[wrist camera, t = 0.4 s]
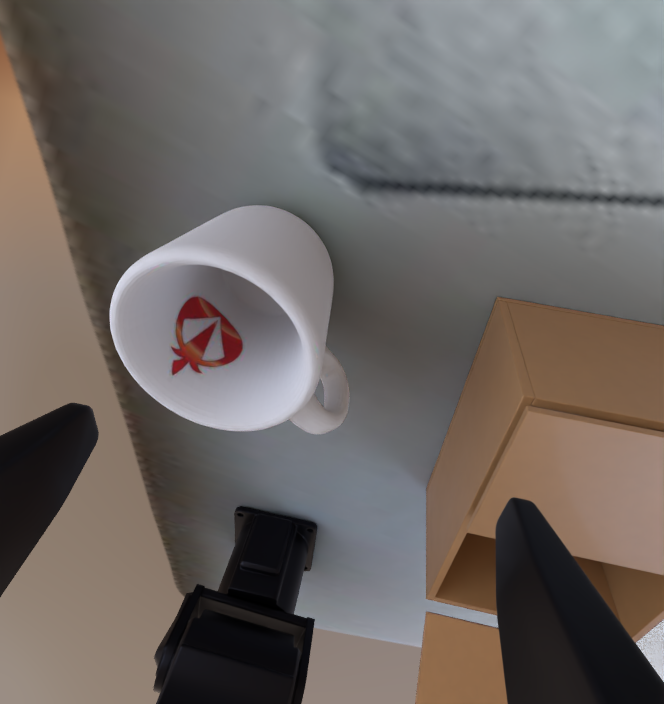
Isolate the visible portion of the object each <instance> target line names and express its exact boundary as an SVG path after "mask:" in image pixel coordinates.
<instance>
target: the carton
mask: <svg viewBox="0 0 664 704" xmlns="http://www.w3.org/2000/svg"><path fill="white" fill-rule="evenodd" d="M512 497H516V498H521V499H525V500H529V501H532V502H533V503H534V504H535V505H536V506H537V508H538V509H539V510H540V512H541V513H542V514H543V516H544V517H545V519H546V520H547V521H548V523H549V524H550V526H551V527H552V528H553V530H554V531H555V532H556V534H557V535H558V537H559V538H560V539H561V541H562V542H563V544H564V545H565V546H566V548H567V549H568V550H569V552H570V553H571V555H572V556H573V557H574V559H575V560H576V562H577V563H578V564H579V566H580V567H581V568H582V570H583V571H584V573H585V574H586V575H587V577H588V578H589V580H590V581H591V582H592V584H593V585H594V586H595V588H596V589H597V591H598V592H599V593H600V595H601V596H602V598H603V599H604V600H605V602H606V603H607V604H608V606H609V607H610V609H611V610H612V611H613V613H614V614H615V616H616V617H617V618H618V620H619V621H620V622H621V624H622V625H623V627H624V628H625V629H626V631H627V632H628V634H629V635H630V636H631V638H632V639H633V640H634V642H635V643H636V642H637V641H638V640H640V639H641V638H642V637H643V636H644V635H645V634H647V633H648V632H649V631H650V630H651V629H653V628H654V627H655V626H656V625H657V624H659V623H660V622H661V621H662V620H663V619H664V326H662V325H656V324H650V323H645V322H639V321H633V320H628V319H622V318H616V317H610V316H605V315H599V314H593V313H588V312H582V311H576V310H571V309H565V308H559V307H554V306H548V305H542V304H537V303H531V302H525V301H519V300H514V299H508V298H502V297H497V299H496V301H495V304H494V307H493V309H492V312H491V315H490V317H489V320H488V323H487V326H486V328H485V331H484V334H483V336H482V339H481V342H480V345H479V347H478V350H477V353H476V355H475V358H474V361H473V364H472V366H471V369H470V372H469V374H468V377H467V380H466V383H465V385H464V388H463V391H462V393H461V396H460V399H459V402H458V404H457V407H456V410H455V412H454V415H453V418H452V421H451V423H450V426H449V429H448V431H447V434H446V437H445V440H444V442H443V445H442V448H441V450H440V453H439V456H438V458H437V461H436V464H435V467H434V469H433V472H432V475H431V477H430V480H429V483H428V486H427V488H426V599H428V600H434V601H437V602H441V603H445V604H450V605H454V606H458V607H463V608H467V609H471V610H476V611H480V612H485V613H489V614H493V615H497V608H496V538H495V531H496V524H497V521H498V518H499V517H500V515H501V513H502V511H503V510H504V508H505V506H506V504H507V502H508V501H509V499H511V498H512Z"/></svg>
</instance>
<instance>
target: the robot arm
mask: <svg viewBox="0 0 664 704" xmlns="http://www.w3.org/2000/svg"><path fill="white" fill-rule="evenodd" d="M97 440H98V428H97V425H96V421H95V417H94V413H93V410H92V409H91V407H89V406H87V405H82V404H77V403H69V404H67V405H64V406H62V407H60V408H58V409H56V410H54V411H52V412H50V413H48V414H45V415H43V416H41V417H39V418H37V419H35V420H33V421H31V422H29V423H26V424H24V425H22V426H20V427H18V428H16V429H14V430H12V431H9V432H7V433H5V434H3V435H1V436H0V597H1V595H2V594H3V592H4V591H5V589H6V588H7V586H8V585H9V583H10V582H11V581H12V579H13V578H14V576H15V575H16V573H17V572H18V570H19V569H20V567H21V566H22V564H23V563H24V561H25V560H26V558H27V557H28V555H29V554H30V553H31V551H32V550H33V548H34V547H35V545H36V544H37V542H38V541H39V539H40V538H41V536H42V535H43V534H44V532H45V531H46V529H47V527H48V526H49V525H50V523H51V522H52V520H53V519H54V517H55V516H56V514H57V513H58V511H59V510H60V508H61V507H62V505H63V503H64V502H65V500H66V498H67V496H68V495H69V493H70V491H71V489H72V487H73V485H74V483H75V482H76V480H77V478H78V476H79V474H80V473H81V471H82V469H83V467H84V465H85V463H86V461H87V459H88V458H89V456H90V454H91V452H92V450H93V449H94V447H95V445H96V443H97ZM316 533H317V525H316V524H315V523H313V522H309V521H304V520H300V519H295V518H291V517H286V516H282V515H277V514H273V513H268V512H264V511H259V510H255V509H250V508H246V507H237V508H236V511H235V542H236V544H235V547H234V550H233V552H232V555H231V558H230V560H229V563H228V566H227V568H226V571H225V573H224V576H223V579H222V581H221V584H220V587H219V589H218V591H214V590H211V589H208V588H204V587H205V586H203V585H199V584H197V585H196V587H195V590H194V592H191V593H187V594H186V596H185V598H184V600H183V603H182V605H181V608H180V610H179V612H178V614H177V616H176V618H175V620H174V622H173V623H172V625H171V627H170V628H169V630H168V632H167V633H166V635H165V637H164V638H163V640H162V642H161V643H160V645H159V647H158V649H157V651H156V654H155V657H154V659H155V662H156V665H157V671H156V680H155V684H154V691H155V692H158V693H160V695H159V698H158V701H157V703H156V704H301V702H302V698H303V694H304V689H305V683H306V677H307V671H308V664H309V656H310V649H311V642H312V635H313V628H314V621H315V619H312V618H309V617H307V618H304V617H301V616H297V615H294V611H295V607H296V602H297V598H298V594H299V589H300V585H301V581H302V576H303V572H304V571H310V570H311V566H312V559H313V553H314V546H315V540H316ZM495 538H496V608H497V619H498V627H499V636H500V644H501V653H502V661H503V670H504V678H505V686H506V695H507V703H508V704H664V682H663V681H662V679H661V678H660V677H659V675H658V674H657V672H656V671H655V670H654V668H653V667H652V665H651V664H650V663H649V661H648V660H647V659H646V657H645V656H644V654H643V653H642V652H641V650H640V649H639V647H638V646H637V645H636V643H635V642H634V640H633V639H632V638H631V636H630V635H629V634H628V632H627V631H626V629H625V628H624V627H623V625H622V624H621V622H620V621H619V620H618V618H617V617H616V616H615V614H614V613H613V611H612V610H611V609H610V607H609V606H608V604H607V603H606V602H605V600H604V599H603V598H602V596H601V595H600V593H599V592H598V591H597V589H596V588H595V586H594V585H593V584H592V582H591V581H590V580H589V578H588V577H587V575H586V574H585V573H584V571H583V570H582V568H581V567H580V566H579V564H578V563H577V562H576V560H575V559H574V557H573V556H572V555H571V553H570V552H569V550H568V549H567V548H566V546H565V545H564V544H563V542H562V541H561V539H560V538H559V537H558V535H557V534H556V532H555V531H554V530H553V528H552V527H551V526H550V524H549V523H548V521H547V520H546V519H545V517H544V516H543V514H542V513H541V512H540V510H539V509H538V508H537V506H536V505H535V504H534V503H533V502H532V501H529V500H525V499H521V498H516V497H512V498H511V499H509V501H508V502H507V504H506V506H505V508H504V510H503V511H502V513H501V515H500V517H499V518H498V521H497V524H496V531H495Z"/></svg>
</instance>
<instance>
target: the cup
mask: <svg viewBox="0 0 664 704" xmlns="http://www.w3.org/2000/svg"><path fill="white" fill-rule="evenodd" d="M333 288H334V276H333V268H332V263H331V260H330V257H329V254H328V251H327V249H326V247H325V245H324V244H323V242H322V240H321V239H320V238H319V236H318V235H317V233H316V232H315V231H314V230H313V229H312V228H311V227H310V226H309V225H308V224H307V223H305V222H304V221H303V220H302V219H300V218H298V217H297V216H295V215H293V214H292V213H290V212H287V211H285V210H282V209H279V208H276V207H271V206H264V205H251V206H244V207H240V208H236V209H233V210H230V211H228V212H225V213H223V214H221V215H219V216H217V217H215V218H213V219H212V220H210V221H208V222H206V223H204V224H202V225H201V226H199V227H197V228H195V229H193V230H191V231H189V232H188V233H186V234H184V235H182V236H180V237H178V238H177V239H175V240H173V241H171V242H169V243H167V244H165V245H164V246H162V247H160V248H158V249H156V250H154V251H152V252H151V253H149V254H147V255H145V256H144V257H142V258H141V259H139V260H138V261H137V262H136V263H134V264H133V265H132V266H131V267H130V268H129V269H128V270H127V271H126V272H125V274H124V275H123V276H122V278H121V279H120V281H119V282H118V284H117V286H116V288H115V291H114V294H113V297H112V300H111V306H110V328H111V333H112V337H113V340H114V344H115V347H116V349H117V351H118V353H119V355H120V357H121V359H122V361H123V363H124V365H125V367H126V368H127V370H128V371H129V372H130V374H131V375H132V377H133V378H134V379H135V380H136V381H137V383H138V384H139V385H140V386H141V387H142V388H143V389H144V390H145V391H146V392H147V393H148V394H149V395H151V396H152V397H153V398H154V399H155V400H157V401H158V402H159V403H161V404H162V405H164V406H165V407H166V408H168V409H169V410H171V411H173V412H175V413H176V414H178V415H180V416H182V417H184V418H186V419H188V420H191V421H193V422H195V423H198V424H201V425H204V426H208V427H211V428H215V429H221V430H228V431H255V430H262V429H266V428H270V427H273V426H276V425H278V424H281V423H283V422H285V421H287V420H288V419H289V420H290V421H292V422H293V423H294V424H295V425H297V426H298V427H299V428H301V429H303V430H304V431H306V432H308V433H311V434H324V433H327V432H330V431H332V430H334V429H336V428H337V427H339V426H340V425H341V424H342V422H343V421H344V420H345V418H346V415H347V412H348V408H349V397H350V396H349V386H348V381H347V377H346V374H345V371H344V369H343V367H342V366H341V364H340V362H339V361H338V359H337V358H336V357H335V355H334V354H333V353H332V352H331V351H330V350H329V349H328V348H327V346H326V338H327V331H328V325H329V318H330V311H331V304H332V298H333ZM319 379H321V381H322V384H323V388H324V395H325V399H324V407H323V406H322V405H321V404H320V402H319V401H318V399H317V397H316V395H315V390H316V388H317V385H318V383H319Z"/></svg>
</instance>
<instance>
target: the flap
mask: <svg viewBox="0 0 664 704" xmlns="http://www.w3.org/2000/svg"><path fill="white" fill-rule="evenodd" d="M415 704H508V703H507V695H506V686H505V678H504V670H503V661H502V653H501V644H500V636H499V628H496V627H492V626H488V625H483V624H479V623H475V622H470V621H466V620H462V619H458V618H453V617H449V616H445V615H440V614H436V613H432V612H427V611H426V617H425V625H424V634H423V642H422V650H421V659H420V667H419V675H418V683H417V693H416V700H415Z"/></svg>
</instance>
